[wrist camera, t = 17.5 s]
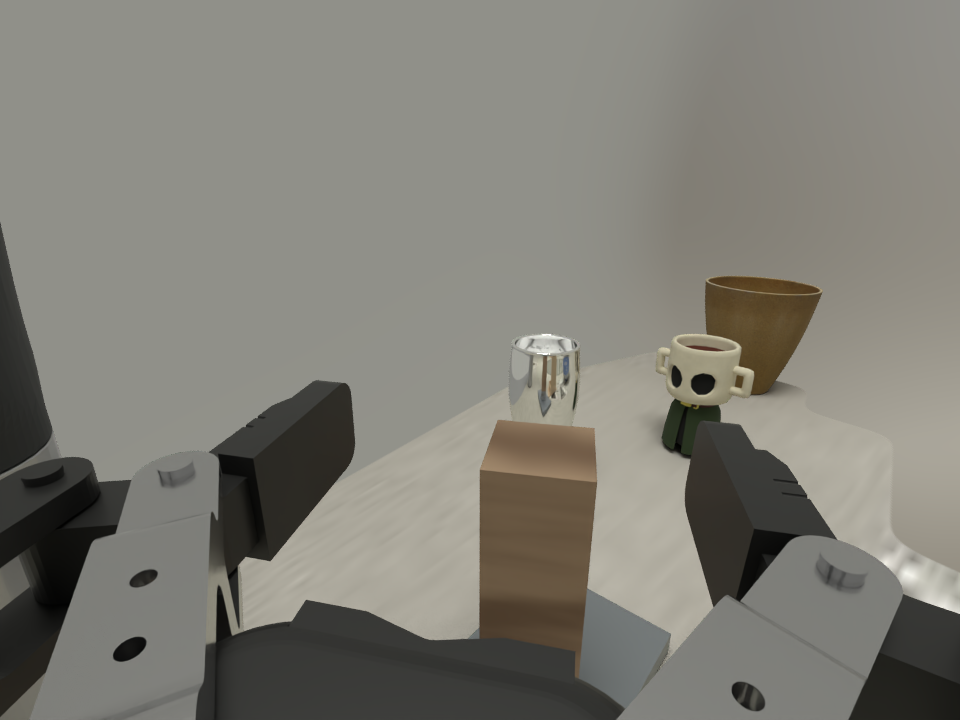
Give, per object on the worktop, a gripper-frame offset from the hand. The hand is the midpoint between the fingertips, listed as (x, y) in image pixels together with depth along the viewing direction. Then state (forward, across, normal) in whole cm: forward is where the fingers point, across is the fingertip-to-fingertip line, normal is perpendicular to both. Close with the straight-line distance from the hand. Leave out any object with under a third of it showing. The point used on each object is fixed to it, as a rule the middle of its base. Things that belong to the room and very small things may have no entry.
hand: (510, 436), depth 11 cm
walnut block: (+10, 0, +22) cm, 25 cm away
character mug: (+46, -16, +25) cm, 54 cm away
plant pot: (+68, -28, +25) cm, 77 cm away
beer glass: (+35, +1, +25) cm, 43 cm away
